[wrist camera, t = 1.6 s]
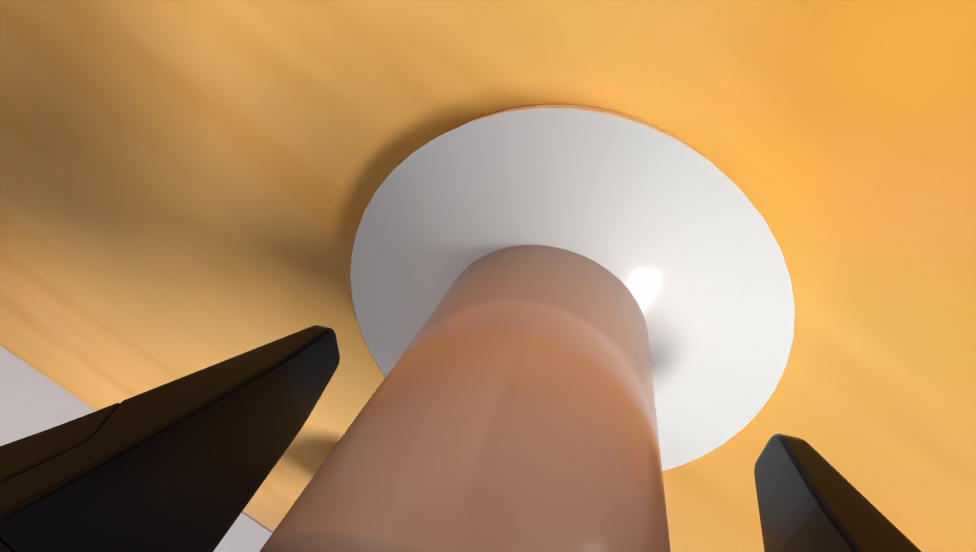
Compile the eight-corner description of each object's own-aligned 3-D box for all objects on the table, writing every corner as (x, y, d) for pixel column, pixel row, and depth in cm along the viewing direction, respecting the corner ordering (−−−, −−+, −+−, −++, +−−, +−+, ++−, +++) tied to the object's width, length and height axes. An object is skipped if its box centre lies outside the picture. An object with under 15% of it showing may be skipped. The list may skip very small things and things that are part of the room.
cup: (621, 432, 10) (626, 898, 4) (445, 386, 11) (271, 719, 6) (675, 266, 8) (826, 829, 2) (442, 229, 9) (133, 537, 3)
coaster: (694, 487, 12) (700, 520, 11) (386, 403, 14) (371, 425, 13) (878, 129, 7) (915, 140, 6) (348, 86, 9) (319, 89, 8)
